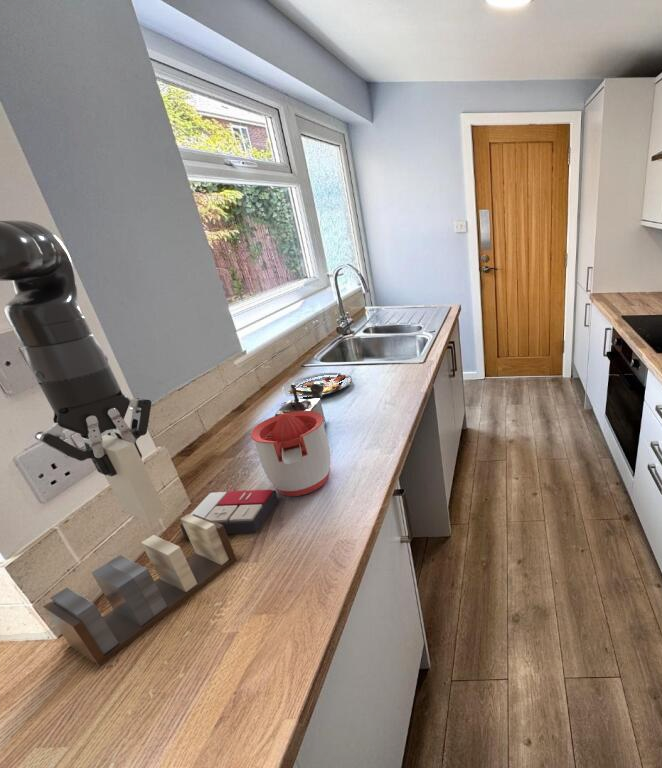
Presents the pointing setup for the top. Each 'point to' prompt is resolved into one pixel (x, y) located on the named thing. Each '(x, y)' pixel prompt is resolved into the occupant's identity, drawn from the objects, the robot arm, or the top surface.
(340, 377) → the food plate
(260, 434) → the citrus juicer
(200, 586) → the book trough
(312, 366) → the top surface
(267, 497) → the calculator
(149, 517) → the pale book
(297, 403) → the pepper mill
